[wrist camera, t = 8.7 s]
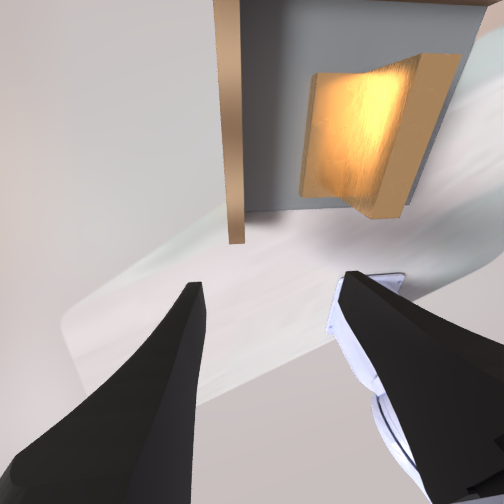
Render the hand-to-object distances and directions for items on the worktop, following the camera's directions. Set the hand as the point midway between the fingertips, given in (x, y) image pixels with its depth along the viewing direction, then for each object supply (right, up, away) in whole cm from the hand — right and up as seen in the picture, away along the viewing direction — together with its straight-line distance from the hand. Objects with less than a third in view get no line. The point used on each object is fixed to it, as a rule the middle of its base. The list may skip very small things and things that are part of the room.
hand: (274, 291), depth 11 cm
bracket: (+5, +11, +6) cm, 13 cm away
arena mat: (+6, +12, +6) cm, 14 cm away
